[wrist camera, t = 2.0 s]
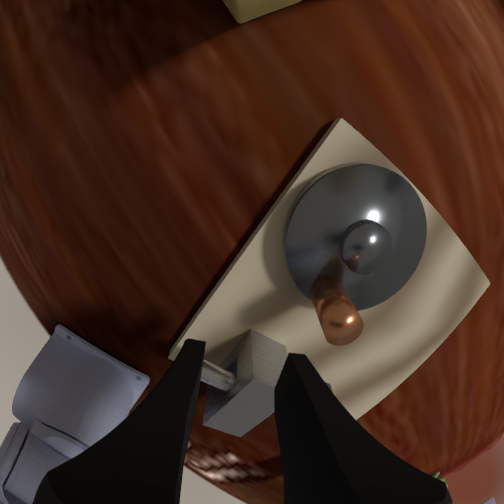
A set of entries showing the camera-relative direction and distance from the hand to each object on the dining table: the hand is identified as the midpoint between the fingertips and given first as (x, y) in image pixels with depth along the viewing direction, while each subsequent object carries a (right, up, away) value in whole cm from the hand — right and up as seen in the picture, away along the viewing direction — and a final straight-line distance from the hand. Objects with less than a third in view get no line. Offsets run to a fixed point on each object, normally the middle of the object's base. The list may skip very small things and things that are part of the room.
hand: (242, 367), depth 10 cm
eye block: (0, -4, +12) cm, 12 cm away
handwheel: (+7, +5, +7) cm, 11 cm away
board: (+8, -1, +11) cm, 13 cm away
